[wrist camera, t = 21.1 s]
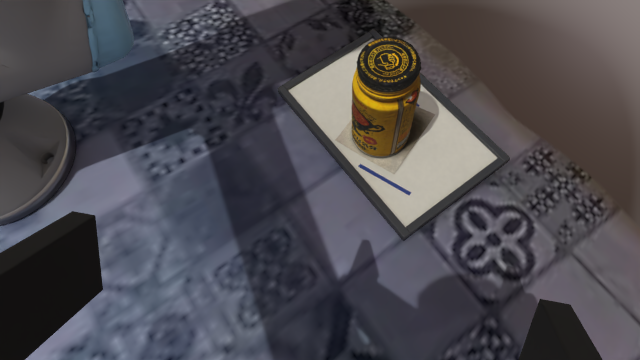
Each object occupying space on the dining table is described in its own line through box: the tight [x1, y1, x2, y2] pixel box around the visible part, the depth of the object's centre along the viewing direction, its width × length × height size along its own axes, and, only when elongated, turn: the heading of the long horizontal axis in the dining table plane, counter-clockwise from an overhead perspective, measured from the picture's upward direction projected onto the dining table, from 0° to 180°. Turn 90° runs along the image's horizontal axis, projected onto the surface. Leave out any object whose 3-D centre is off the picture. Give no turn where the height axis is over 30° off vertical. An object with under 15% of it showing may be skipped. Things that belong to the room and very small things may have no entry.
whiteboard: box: [278, 29, 510, 241], centre depth 46 cm, size 22×14×1 cm, turn 36°
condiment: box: [335, 37, 435, 174], centre depth 40 cm, size 7×8×12 cm
